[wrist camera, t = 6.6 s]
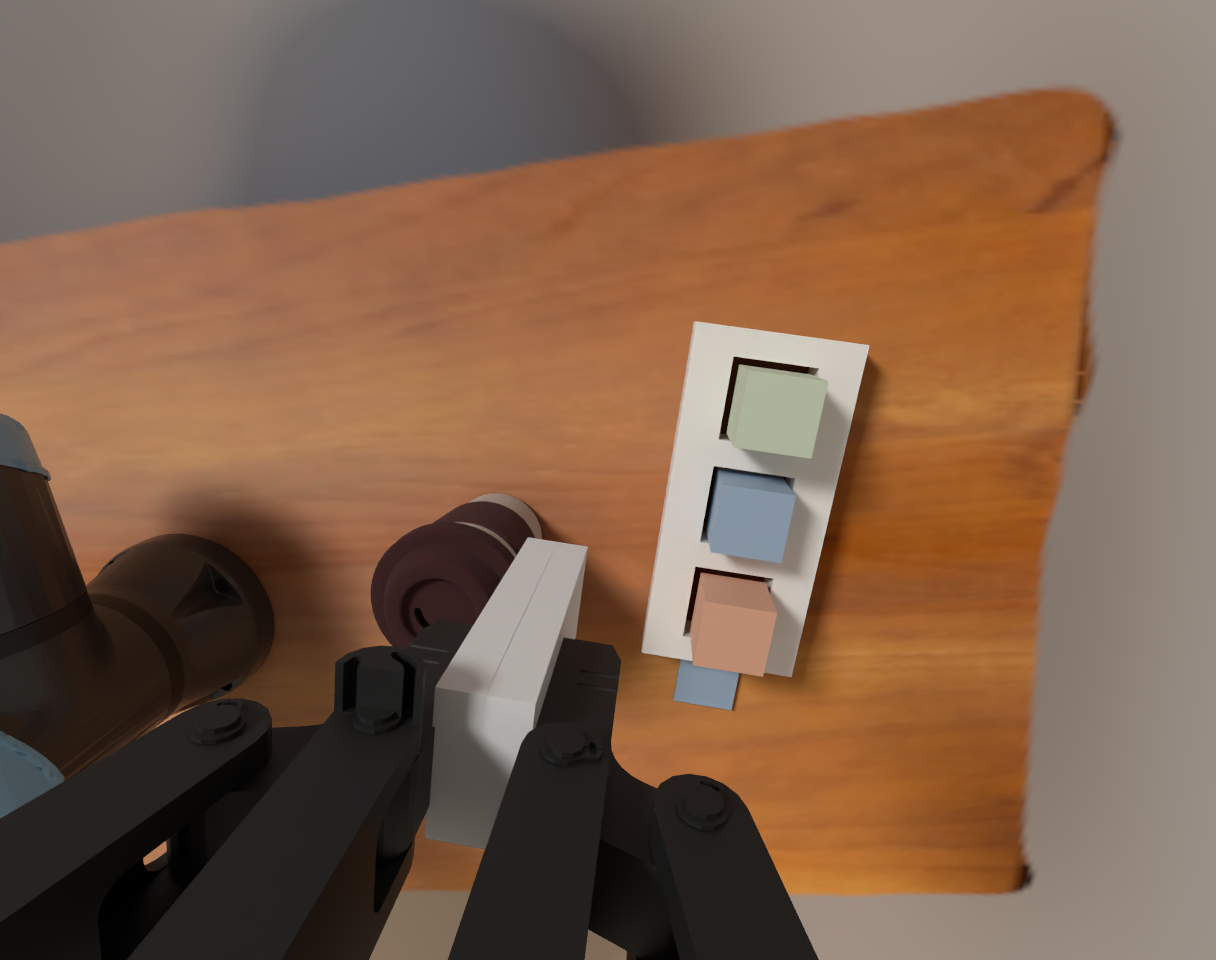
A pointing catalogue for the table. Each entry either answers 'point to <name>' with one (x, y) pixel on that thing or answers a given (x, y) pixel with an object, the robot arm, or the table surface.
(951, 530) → the table surface
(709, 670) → the swatch
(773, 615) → the button terracotta
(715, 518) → the button slate
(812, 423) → the button sage
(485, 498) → the coffee cup
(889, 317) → the table surface
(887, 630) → the table surface
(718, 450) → the button board
